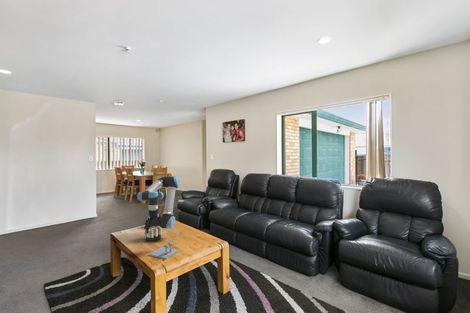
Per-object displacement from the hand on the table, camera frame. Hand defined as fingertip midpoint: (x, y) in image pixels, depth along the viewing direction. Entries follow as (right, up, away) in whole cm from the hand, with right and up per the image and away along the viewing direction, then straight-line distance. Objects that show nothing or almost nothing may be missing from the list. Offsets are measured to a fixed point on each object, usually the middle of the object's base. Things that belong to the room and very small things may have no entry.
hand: (153, 235), depth 197 cm
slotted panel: (0, 0, 0) cm, 0 cm away
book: (-15, -14, +71) cm, 74 cm away
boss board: (+10, -14, -4) cm, 18 cm away
